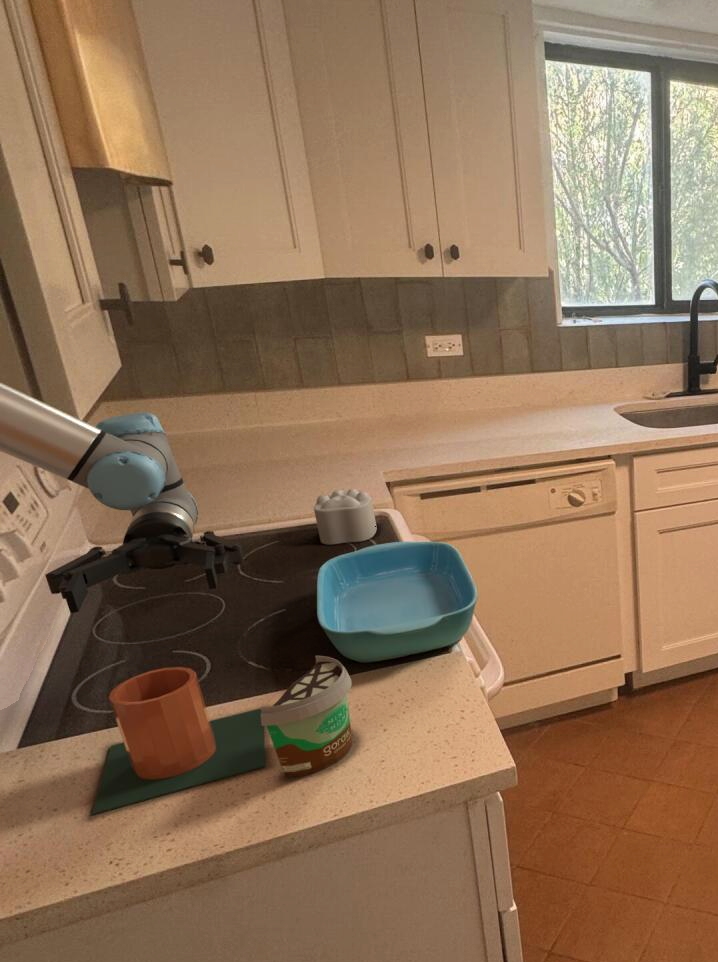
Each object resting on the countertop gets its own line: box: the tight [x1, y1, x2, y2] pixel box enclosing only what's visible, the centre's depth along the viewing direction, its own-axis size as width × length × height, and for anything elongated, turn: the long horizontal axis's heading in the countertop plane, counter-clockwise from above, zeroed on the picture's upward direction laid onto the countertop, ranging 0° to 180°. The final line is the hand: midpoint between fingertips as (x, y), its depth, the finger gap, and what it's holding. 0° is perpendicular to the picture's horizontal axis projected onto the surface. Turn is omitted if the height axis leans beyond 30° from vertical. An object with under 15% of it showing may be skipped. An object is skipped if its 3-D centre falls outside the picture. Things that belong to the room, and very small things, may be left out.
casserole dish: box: [316, 541, 479, 664], centre depth 126 cm, size 37×22×7 cm, turn 28°
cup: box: [108, 666, 216, 780], centre depth 91 cm, size 8×8×10 cm
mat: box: [91, 708, 266, 816], centre depth 93 cm, size 14×16×1 cm
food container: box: [260, 655, 353, 778], centre depth 92 cm, size 12×6×10 cm, turn 179°
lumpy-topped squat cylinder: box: [313, 487, 378, 545], centre depth 163 cm, size 10×13×9 cm
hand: (143, 590), depth 94 cm, fingers open, 13 cm apart
